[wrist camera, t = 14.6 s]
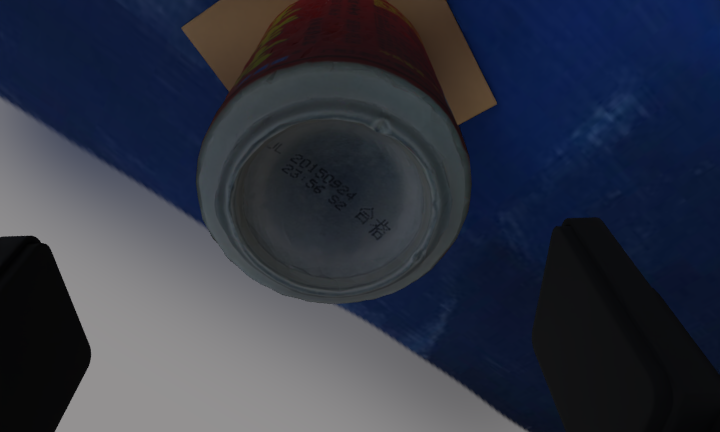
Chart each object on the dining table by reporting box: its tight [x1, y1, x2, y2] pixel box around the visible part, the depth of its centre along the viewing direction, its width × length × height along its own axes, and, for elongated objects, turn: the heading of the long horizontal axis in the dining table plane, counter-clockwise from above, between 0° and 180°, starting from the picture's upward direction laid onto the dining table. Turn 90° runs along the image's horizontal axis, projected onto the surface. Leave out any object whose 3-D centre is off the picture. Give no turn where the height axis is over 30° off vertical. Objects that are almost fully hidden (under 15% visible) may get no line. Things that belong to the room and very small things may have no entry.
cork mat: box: [182, 0, 497, 125], centre depth 24 cm, size 10×10×1 cm
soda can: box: [196, 0, 472, 304], centre depth 18 cm, size 7×7×12 cm
